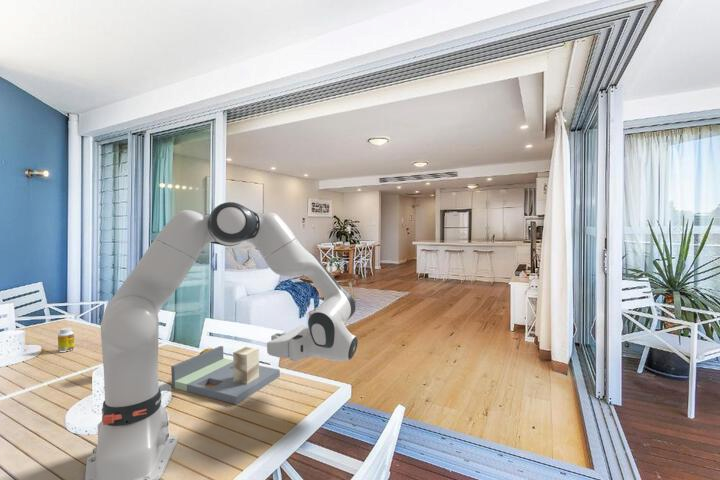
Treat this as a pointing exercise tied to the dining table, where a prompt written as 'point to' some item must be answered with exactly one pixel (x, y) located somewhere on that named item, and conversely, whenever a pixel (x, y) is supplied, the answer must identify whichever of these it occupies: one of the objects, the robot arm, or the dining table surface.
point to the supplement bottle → (65, 339)
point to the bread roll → (205, 350)
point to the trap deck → (220, 378)
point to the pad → (200, 374)
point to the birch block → (246, 365)
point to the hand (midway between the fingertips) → (273, 336)
